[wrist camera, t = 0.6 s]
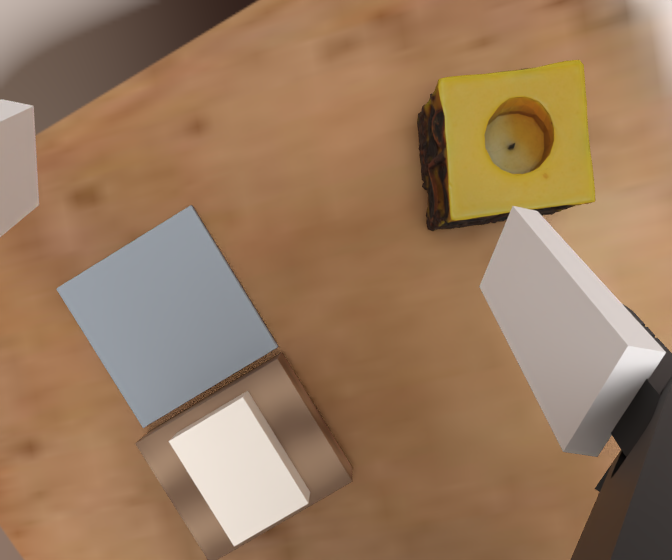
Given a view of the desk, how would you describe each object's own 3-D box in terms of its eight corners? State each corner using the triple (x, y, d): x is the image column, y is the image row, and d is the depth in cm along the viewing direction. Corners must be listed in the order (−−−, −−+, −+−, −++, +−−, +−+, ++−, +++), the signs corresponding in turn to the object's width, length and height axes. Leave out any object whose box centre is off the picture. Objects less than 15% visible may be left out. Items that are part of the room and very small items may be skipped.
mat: (278, 346, 47) (277, 347, 47) (145, 426, 48) (143, 427, 47) (192, 205, 47) (190, 205, 46) (59, 288, 47) (56, 288, 47)
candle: (426, 231, 46) (447, 226, 36) (413, 114, 46) (431, 76, 36) (544, 217, 46) (598, 208, 36) (533, 99, 46) (584, 56, 36)
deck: (352, 467, 47) (352, 481, 44) (219, 544, 48) (210, 563, 45) (281, 352, 47) (277, 358, 44) (148, 431, 48) (135, 443, 45)
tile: (310, 492, 45) (308, 503, 43) (239, 533, 45) (234, 546, 43) (247, 390, 44) (242, 397, 42) (176, 432, 45) (168, 441, 43)
